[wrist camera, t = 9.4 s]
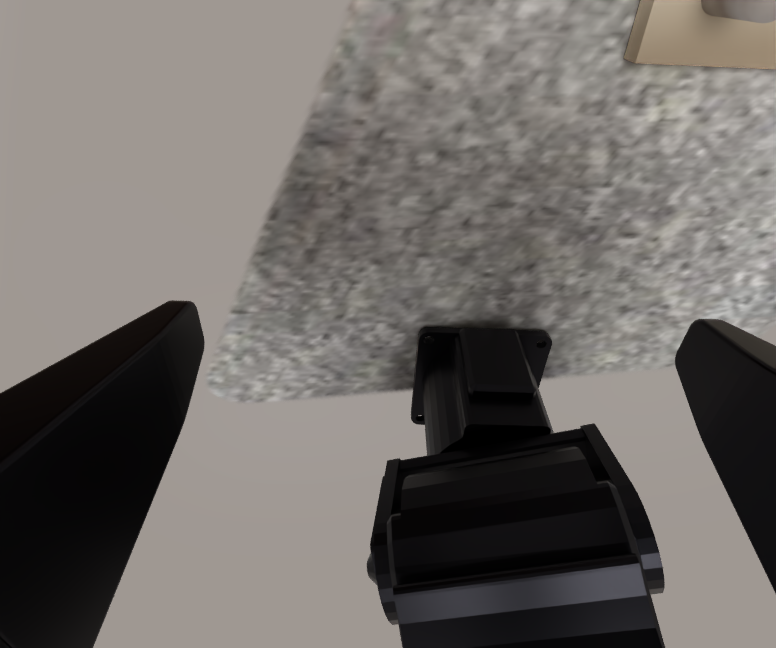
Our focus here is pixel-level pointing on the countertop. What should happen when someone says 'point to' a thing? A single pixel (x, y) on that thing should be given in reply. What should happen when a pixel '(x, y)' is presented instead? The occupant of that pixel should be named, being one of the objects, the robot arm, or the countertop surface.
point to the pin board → (705, 33)
